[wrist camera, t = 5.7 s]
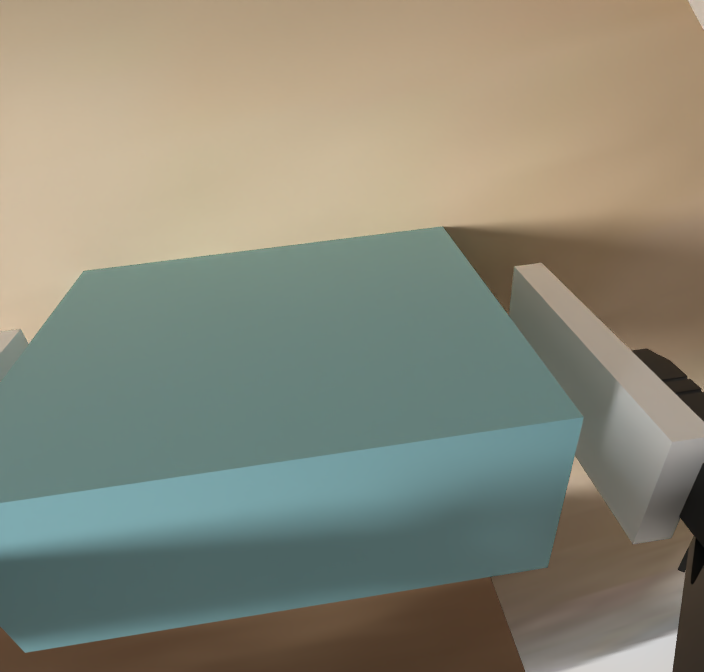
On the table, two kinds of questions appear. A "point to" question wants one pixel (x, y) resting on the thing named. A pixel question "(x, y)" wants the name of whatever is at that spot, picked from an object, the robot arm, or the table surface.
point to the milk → (698, 10)
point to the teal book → (272, 439)
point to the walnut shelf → (311, 639)
